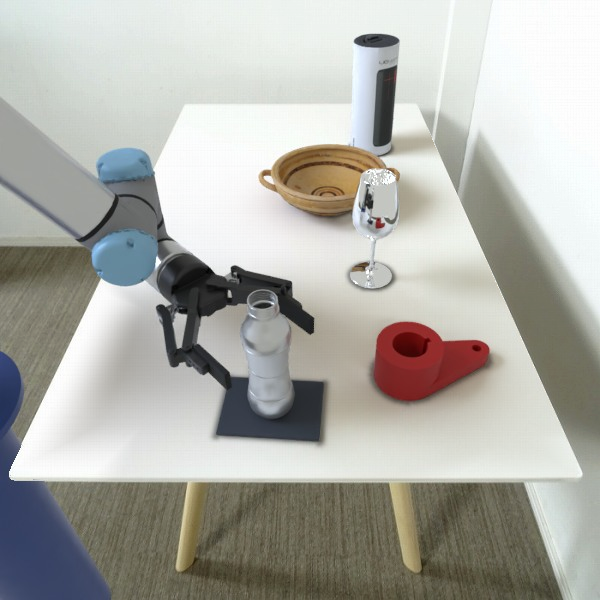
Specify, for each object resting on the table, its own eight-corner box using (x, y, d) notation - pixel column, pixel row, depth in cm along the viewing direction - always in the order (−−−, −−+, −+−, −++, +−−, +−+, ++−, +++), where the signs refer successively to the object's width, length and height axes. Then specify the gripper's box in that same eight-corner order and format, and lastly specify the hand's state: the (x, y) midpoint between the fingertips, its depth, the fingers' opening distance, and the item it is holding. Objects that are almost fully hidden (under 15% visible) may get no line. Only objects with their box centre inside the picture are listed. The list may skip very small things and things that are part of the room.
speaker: (360, 160, 134) (366, 47, 116) (342, 143, 141) (345, 34, 124) (398, 152, 136) (409, 40, 119) (378, 135, 144) (386, 28, 127)
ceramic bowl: (391, 174, 128) (394, 142, 123) (403, 233, 110) (407, 198, 104) (264, 176, 129) (262, 144, 124) (256, 234, 111) (252, 200, 105)
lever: (388, 407, 77) (392, 376, 73) (364, 360, 84) (366, 329, 80) (502, 378, 81) (512, 346, 76) (469, 335, 88) (477, 304, 83)
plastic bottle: (277, 380, 81) (268, 274, 68) (304, 410, 77) (301, 303, 64) (240, 402, 78) (223, 295, 65) (266, 434, 74) (254, 326, 61)
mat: (216, 434, 75) (215, 432, 74) (230, 378, 82) (229, 376, 82) (319, 441, 73) (319, 439, 73) (323, 383, 81) (323, 381, 81)
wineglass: (340, 275, 100) (343, 176, 87) (369, 257, 104) (376, 160, 91) (372, 295, 96) (380, 194, 82) (401, 276, 99) (413, 176, 86)
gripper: (248, 260, 89) (341, 326, 77) (107, 335, 77) (193, 427, 65) (244, 221, 84) (343, 285, 72) (93, 294, 72) (182, 386, 60)
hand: (272, 352), depth 68 cm, fingers open, 13 cm apart
